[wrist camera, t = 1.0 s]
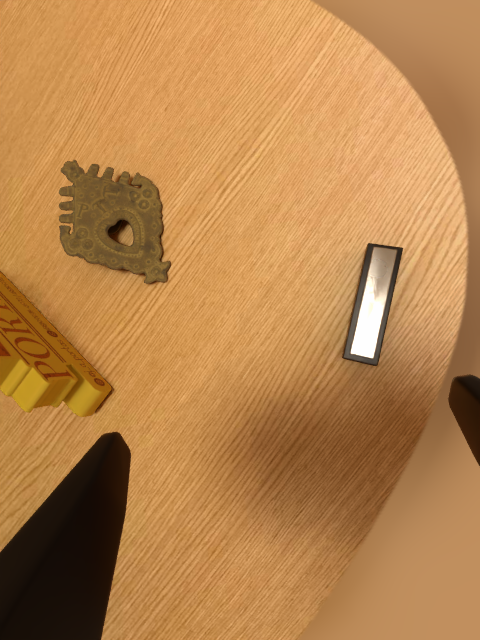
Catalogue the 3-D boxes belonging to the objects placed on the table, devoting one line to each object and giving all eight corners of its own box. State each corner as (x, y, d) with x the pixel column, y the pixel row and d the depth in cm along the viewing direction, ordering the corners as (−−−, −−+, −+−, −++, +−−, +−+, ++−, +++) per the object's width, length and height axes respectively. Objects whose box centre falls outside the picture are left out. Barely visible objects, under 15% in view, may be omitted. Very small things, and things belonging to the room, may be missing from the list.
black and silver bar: (374, 365, 25) (378, 366, 23) (341, 357, 26) (342, 358, 24) (398, 255, 26) (405, 244, 23) (365, 250, 26) (368, 239, 24)
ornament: (126, 316, 30) (15, 201, 31) (135, 319, 32) (31, 212, 33) (210, 236, 30) (98, 127, 32) (212, 245, 33) (108, 143, 34)
